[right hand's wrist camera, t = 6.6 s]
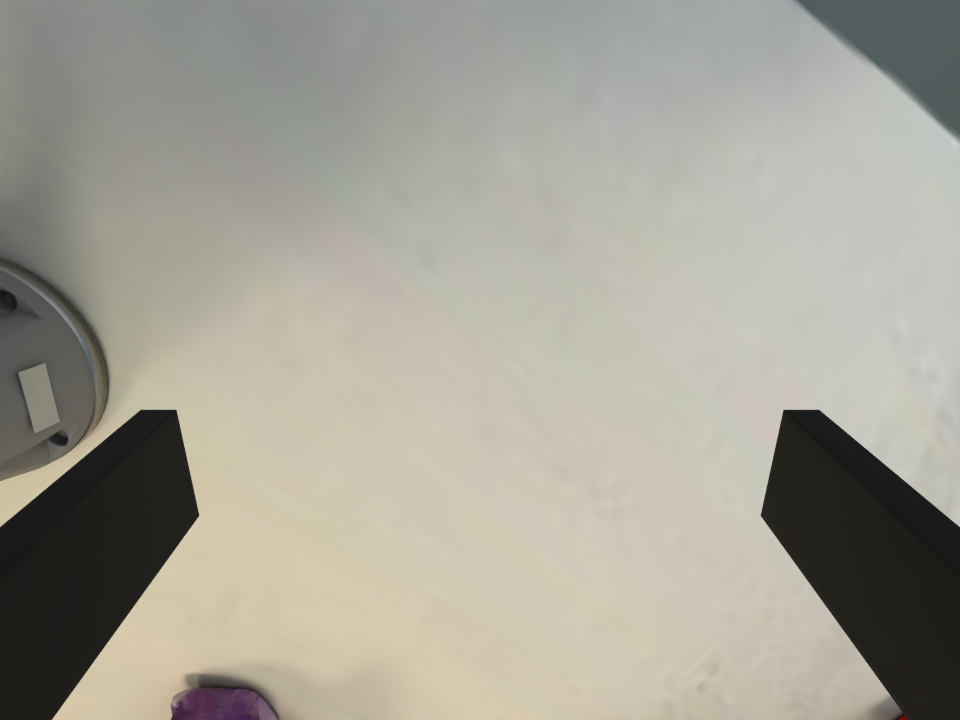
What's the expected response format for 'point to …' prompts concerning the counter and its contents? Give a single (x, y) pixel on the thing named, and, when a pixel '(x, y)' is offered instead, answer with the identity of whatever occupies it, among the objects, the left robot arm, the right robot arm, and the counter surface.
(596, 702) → the counter surface
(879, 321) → the counter surface
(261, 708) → the figurine
